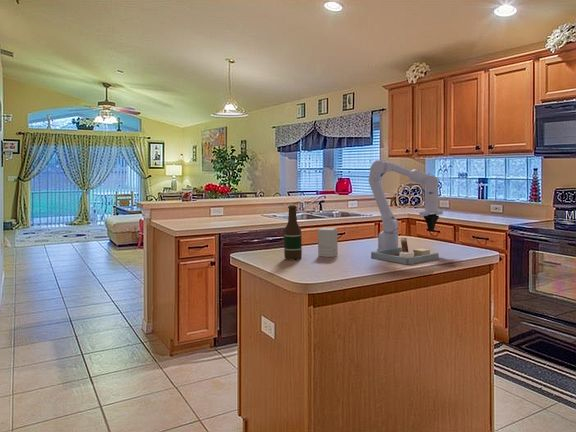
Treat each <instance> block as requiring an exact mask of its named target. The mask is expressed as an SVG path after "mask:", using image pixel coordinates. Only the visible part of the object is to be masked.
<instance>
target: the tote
mask: <svg viewBox="0 0 576 432" xmlns="http://www.w3.org/2000/svg"><path fill="white" fill-rule="evenodd" d="M400 252H403V249H402V246H401V247H398V248H394V249H387V250H375V251H371V253H370V257H371V258H372V259H373V258H374V259H377V260H382V261H388V262H394V263H398V264H403V265H414V264H418V263H423V262H428V261H434V260H439V255H440V254H439V252H435V253H434V252H433V253H430V254H428V255H423V256H417V257H411V258H404V257H400V255H399V256H398V255H397V254H400Z"/></svg>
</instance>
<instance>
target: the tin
mask: <svg viewBox="0 0 576 432" xmlns="http://www.w3.org/2000/svg"><path fill="white" fill-rule="evenodd" d="M407 240H408V239H407V237H402V238H400V244H401V247H402V249H403V252H410V251H409V248H408V247H409V246H408V241H407Z"/></svg>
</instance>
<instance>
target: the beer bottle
mask: <svg viewBox="0 0 576 432" xmlns="http://www.w3.org/2000/svg"><path fill="white" fill-rule="evenodd" d="M287 206H288V207H287V209H288V219H287V220H288V221H287V224H286V226H285V228H284V231H283V247H284V248H283V249H284V251H283V252H284V255H283V256H284V259H285V258H286V259H285V260H287V259H299V260H301V259H302V255H303V251H302V250H303V249H302V246H303V245H302V239H303V238H302V229H301V227H300V225H299V224H298V219H297V216H298V215H297V205H292V204H291V205H287ZM300 258H301V259H300Z"/></svg>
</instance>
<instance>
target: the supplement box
mask: <svg viewBox="0 0 576 432" xmlns="http://www.w3.org/2000/svg"><path fill="white" fill-rule="evenodd" d="M317 251H318V252H317V253H318V254H317V256H318V257H321V256H322V257H323V258H334V257H336V256H338V253H339V252H338V228H337V227H322V228H318V229H317Z"/></svg>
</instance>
